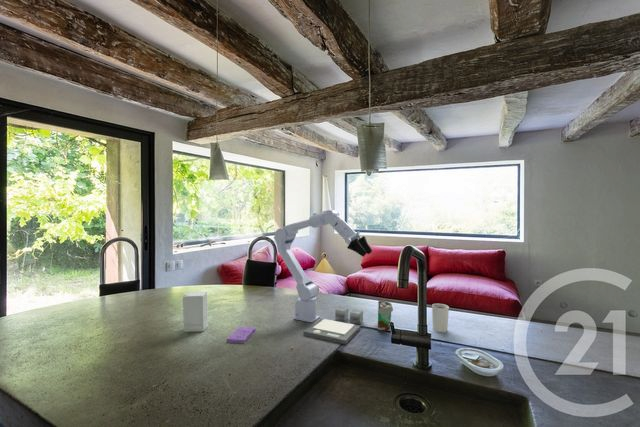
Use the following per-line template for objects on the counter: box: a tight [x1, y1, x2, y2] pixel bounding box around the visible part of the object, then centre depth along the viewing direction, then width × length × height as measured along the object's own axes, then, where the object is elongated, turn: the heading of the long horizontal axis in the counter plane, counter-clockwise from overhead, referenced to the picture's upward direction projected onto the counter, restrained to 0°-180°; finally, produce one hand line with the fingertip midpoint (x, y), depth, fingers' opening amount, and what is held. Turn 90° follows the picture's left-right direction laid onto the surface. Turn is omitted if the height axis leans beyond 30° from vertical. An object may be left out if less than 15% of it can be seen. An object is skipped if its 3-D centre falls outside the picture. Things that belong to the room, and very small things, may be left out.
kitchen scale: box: [303, 318, 361, 345], centre depth 125 cm, size 18×16×2 cm
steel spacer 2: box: [349, 308, 364, 326], centre depth 137 cm, size 4×4×5 cm
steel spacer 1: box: [334, 306, 349, 323], centre depth 140 cm, size 4×4×5 cm
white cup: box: [431, 303, 450, 333], centre depth 129 cm, size 7×7×10 cm
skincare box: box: [182, 291, 209, 333], centre depth 126 cm, size 8×6×15 cm
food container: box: [377, 299, 394, 333], centre depth 131 cm, size 12×6×10 cm, turn 168°
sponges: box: [226, 326, 257, 344], centre depth 121 cm, size 7×13×2 cm, turn 173°
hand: (367, 253), depth 128 cm, fingers open, 7 cm apart
